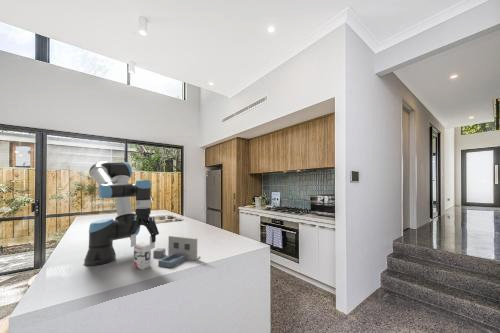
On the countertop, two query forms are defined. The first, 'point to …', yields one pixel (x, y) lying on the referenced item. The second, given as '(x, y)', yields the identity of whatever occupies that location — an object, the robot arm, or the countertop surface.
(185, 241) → the plate
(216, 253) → the countertop surface
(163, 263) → the dock
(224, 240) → the countertop surface
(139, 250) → the ink box
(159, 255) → the brick
